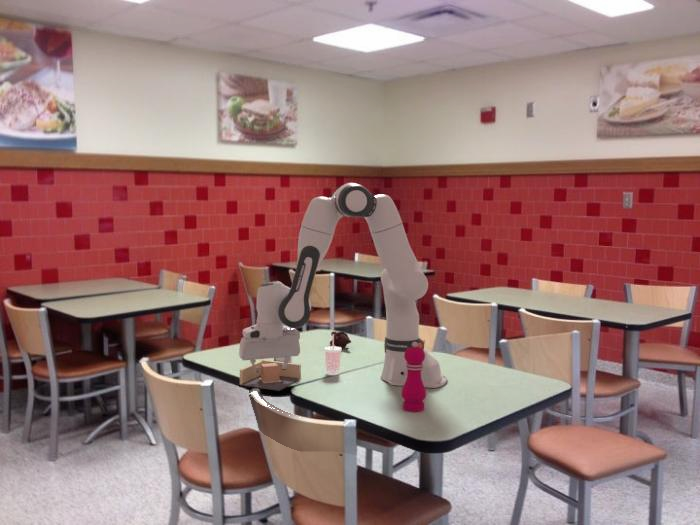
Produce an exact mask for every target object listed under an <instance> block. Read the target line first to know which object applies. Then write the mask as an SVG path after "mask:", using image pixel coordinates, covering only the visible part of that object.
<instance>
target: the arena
mask: <svg viewBox="0 0 700 525" xmlns="http://www.w3.org/2000/svg"><path fill="white" fill-rule="evenodd" d="M268 363H276V364H277V365H278V366H280V368H279V381H277V382H267V383H265V382H264V381H263V380H262V379H261V364H268ZM283 363H284V362H277V361H274V360H267V359H260V360H259V361H256V362H255V363H254V364H255V366H258V367H259V372H257V373H254V371H253V366H252V364H249V365H247V366H245V367H243V368H241V369H239V385H240V386H243V387H250V388H257V389H262V390H264V389H265V390H271V391H277V392H280V391H282V390H284V389H285V388H287V387H289V386H291V385H292V383H293V384H294V383H296V382H297V381H298V382H299V381H300V380H301V379H302V364H300V363H293V362H291V363H288V364H287V365H286V370H281V364H283ZM295 381H296V382H295ZM290 384H291V385H290ZM288 385H289V386H288Z"/></svg>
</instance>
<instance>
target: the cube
mask: <svg viewBox="0 0 700 525" xmlns="http://www.w3.org/2000/svg"><path fill="white" fill-rule="evenodd" d="M279 368H280V366H278V365H277V364H276V363H268V364H261V379H262V380H263V381H264V382H265V383H267V382H277V381H279Z"/></svg>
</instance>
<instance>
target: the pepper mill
mask: <svg viewBox="0 0 700 525" xmlns="http://www.w3.org/2000/svg"><path fill="white" fill-rule="evenodd" d="M412 346H413V347H409V348H408V349H407V350H406V351H405V354H404V358H405V360H406V361H407V363H406V368H407V371H408V373H407V379H406V382H405V384H404V386H402V389H401V397H402V400H404V401H403V402H402V409H403V410H404V411H406V412H410V413H412V412H413V413H418V412H423V411H424V410H425V402H424V401H425V399H426V397H427V389H426V387H424V385H423V382H422V379H421V370H422V369H423V363H422V362H423V361H424V359H425V353H424V351H423V349H421V348H419V347H417V346H418V343H417V342H413V343H412Z"/></svg>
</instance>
